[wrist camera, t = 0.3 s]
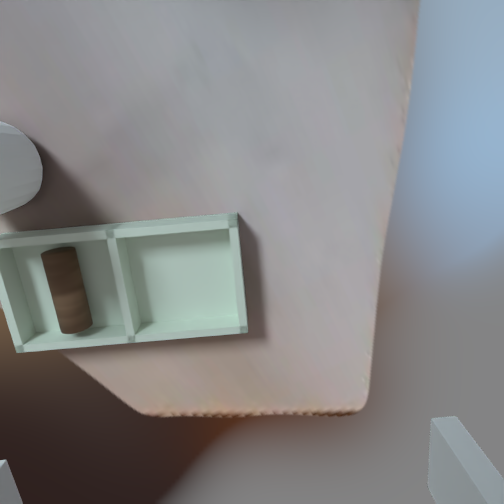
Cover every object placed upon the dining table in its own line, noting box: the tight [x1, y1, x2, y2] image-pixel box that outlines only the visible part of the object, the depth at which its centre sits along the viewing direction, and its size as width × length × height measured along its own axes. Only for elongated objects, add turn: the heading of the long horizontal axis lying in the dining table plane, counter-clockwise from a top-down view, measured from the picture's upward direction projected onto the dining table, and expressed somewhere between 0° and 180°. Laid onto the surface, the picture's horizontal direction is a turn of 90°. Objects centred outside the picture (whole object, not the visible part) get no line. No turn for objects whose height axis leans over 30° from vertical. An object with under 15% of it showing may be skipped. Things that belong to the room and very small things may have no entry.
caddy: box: [0, 213, 248, 353], centre depth 37 cm, size 12×23×3 cm, turn 95°
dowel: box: [40, 246, 93, 334], centre depth 36 cm, size 8×3×3 cm, turn 5°
